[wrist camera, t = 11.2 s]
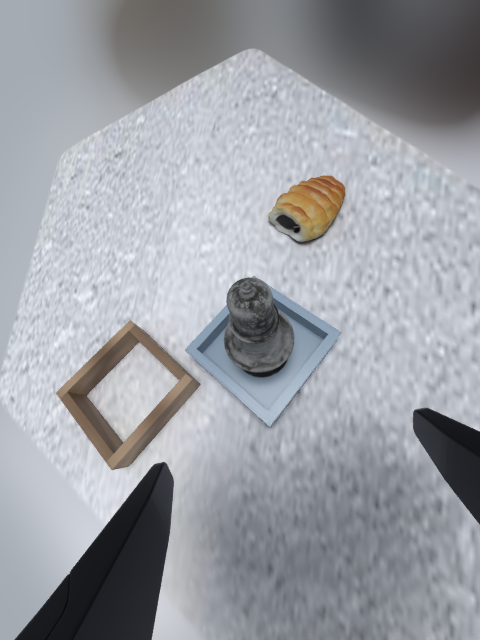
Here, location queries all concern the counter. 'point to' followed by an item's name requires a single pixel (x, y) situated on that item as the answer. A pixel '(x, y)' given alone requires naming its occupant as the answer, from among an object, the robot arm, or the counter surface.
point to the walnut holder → (93, 421)
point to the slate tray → (280, 388)
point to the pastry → (308, 208)
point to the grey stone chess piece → (256, 329)
